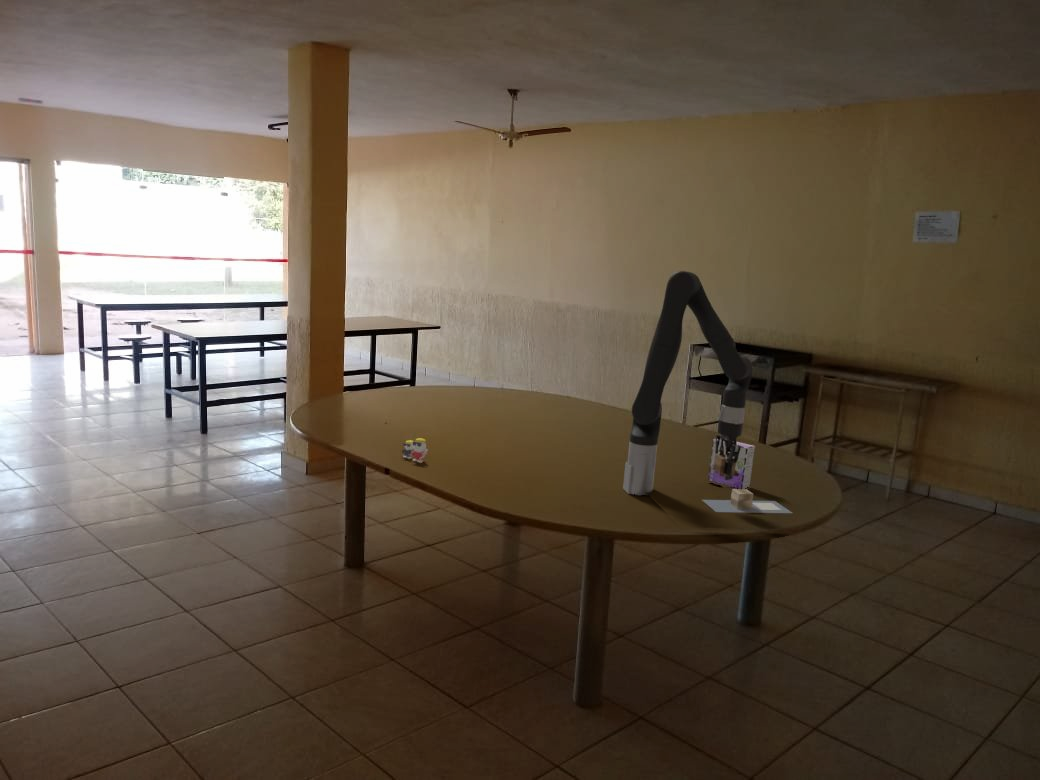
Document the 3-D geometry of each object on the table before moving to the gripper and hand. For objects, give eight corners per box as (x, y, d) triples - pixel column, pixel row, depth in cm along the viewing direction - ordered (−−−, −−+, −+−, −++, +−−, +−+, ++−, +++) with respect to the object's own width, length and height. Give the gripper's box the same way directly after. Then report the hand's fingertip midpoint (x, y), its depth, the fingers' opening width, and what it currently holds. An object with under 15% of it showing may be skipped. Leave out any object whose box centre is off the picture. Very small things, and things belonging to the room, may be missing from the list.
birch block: (736, 508, 253) (738, 493, 252) (730, 503, 258) (732, 488, 257) (751, 508, 254) (753, 494, 253) (744, 503, 258) (746, 489, 258)
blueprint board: (715, 515, 248) (716, 511, 248) (701, 503, 260) (701, 499, 259) (792, 516, 253) (792, 512, 252) (774, 504, 264) (775, 500, 264)
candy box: (706, 483, 284) (712, 438, 281) (715, 480, 288) (721, 436, 285) (741, 493, 274) (747, 447, 271) (749, 490, 278) (755, 445, 276)
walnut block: (719, 473, 249) (721, 458, 249) (713, 469, 254) (715, 454, 253) (734, 474, 250) (736, 459, 249) (727, 470, 255) (729, 455, 254)
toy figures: (399, 456, 290) (400, 434, 288) (409, 454, 293) (410, 432, 291) (420, 464, 282) (421, 441, 280) (430, 462, 285) (431, 439, 283)
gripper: (711, 413, 255) (704, 464, 259) (729, 424, 242) (721, 477, 245) (732, 415, 257) (725, 465, 260) (752, 425, 243) (744, 478, 246)
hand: (723, 471), depth 252 cm, fingers closed on walnut block, 5 cm apart
